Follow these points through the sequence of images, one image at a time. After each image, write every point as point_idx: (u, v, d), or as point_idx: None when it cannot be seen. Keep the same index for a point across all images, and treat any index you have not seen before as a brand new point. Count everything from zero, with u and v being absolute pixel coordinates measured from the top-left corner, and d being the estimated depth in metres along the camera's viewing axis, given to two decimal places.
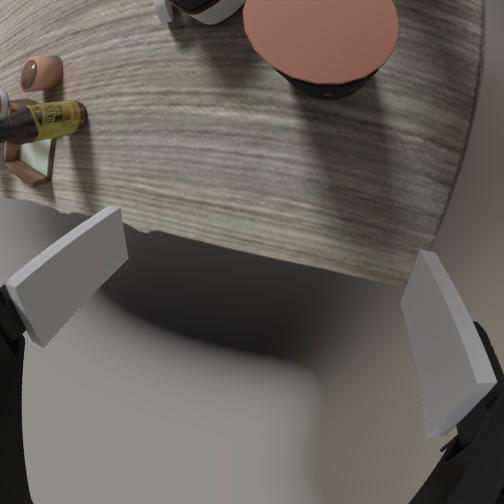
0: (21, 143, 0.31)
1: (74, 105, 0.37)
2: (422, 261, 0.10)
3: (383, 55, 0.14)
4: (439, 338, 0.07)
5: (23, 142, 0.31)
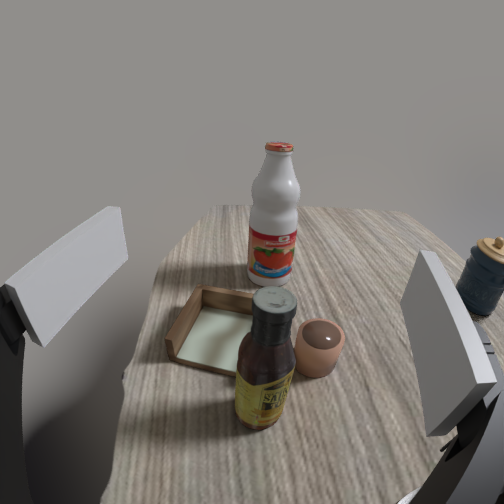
0: (241, 358, 0.28)
1: (277, 416, 0.32)
2: (422, 261, 0.10)
3: None
4: (439, 338, 0.07)
5: (242, 361, 0.28)
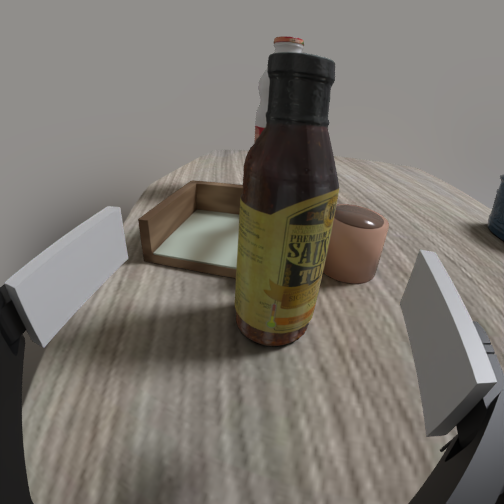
0: (249, 164, 0.17)
1: (307, 316, 0.21)
2: (422, 261, 0.10)
3: None
4: (439, 338, 0.07)
5: (251, 169, 0.17)
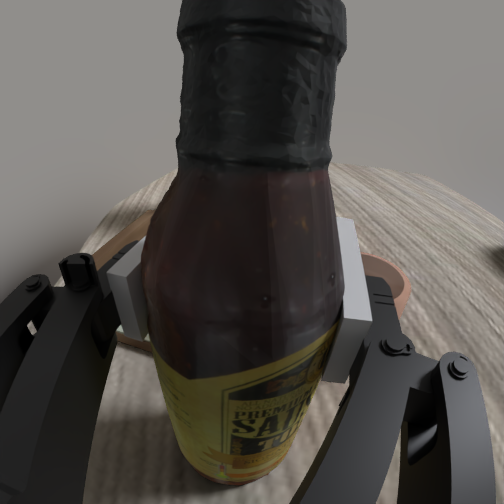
0: (144, 263, 0.07)
1: (279, 461, 0.11)
2: None
3: None
4: None
5: (146, 277, 0.07)
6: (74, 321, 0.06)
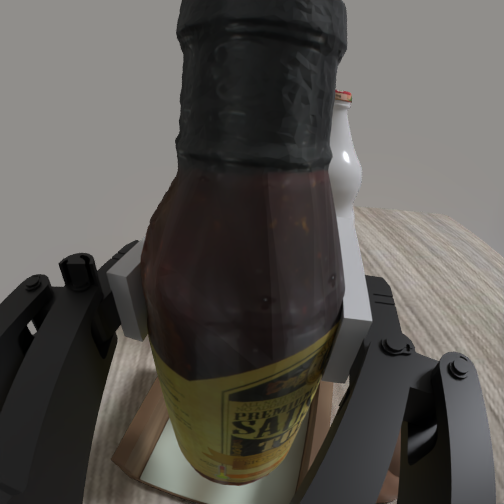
0: (144, 264, 0.07)
1: (279, 462, 0.11)
2: None
3: None
4: None
5: (146, 278, 0.07)
6: (74, 321, 0.06)
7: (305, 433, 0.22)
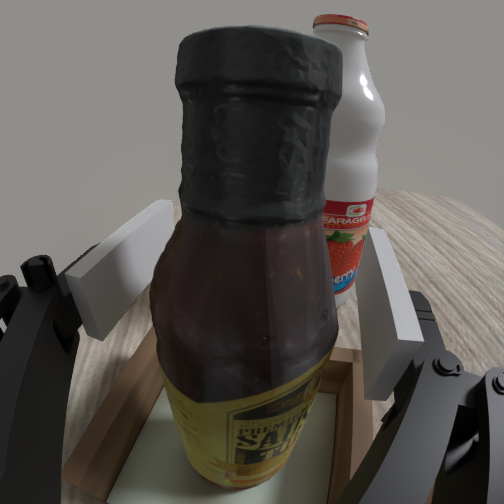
0: (153, 301, 0.08)
1: (279, 467, 0.12)
2: (369, 237, 0.11)
3: None
4: (376, 304, 0.09)
5: (156, 314, 0.08)
6: (37, 318, 0.06)
7: (333, 438, 0.16)
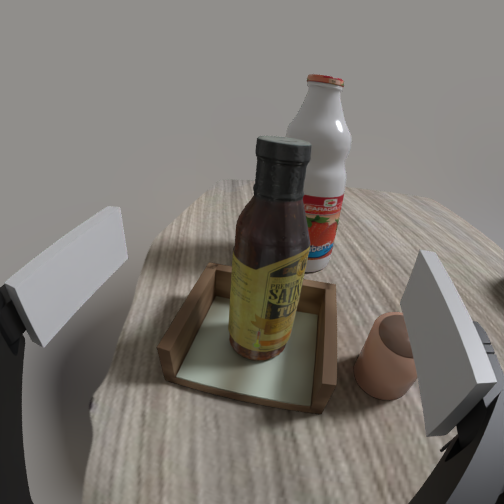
0: (240, 229, 0.22)
1: (285, 338, 0.27)
2: (422, 261, 0.10)
3: None
4: (439, 338, 0.07)
5: (242, 233, 0.22)
6: None
7: (315, 337, 0.31)
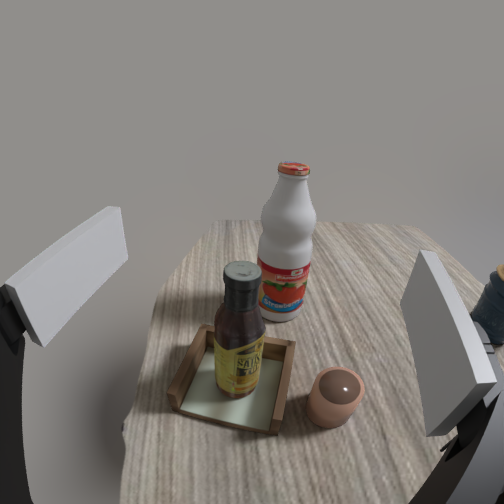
0: (216, 324, 0.33)
1: (253, 385, 0.37)
2: (422, 261, 0.10)
3: None
4: (439, 338, 0.07)
5: (217, 328, 0.33)
6: None
7: (279, 380, 0.41)
